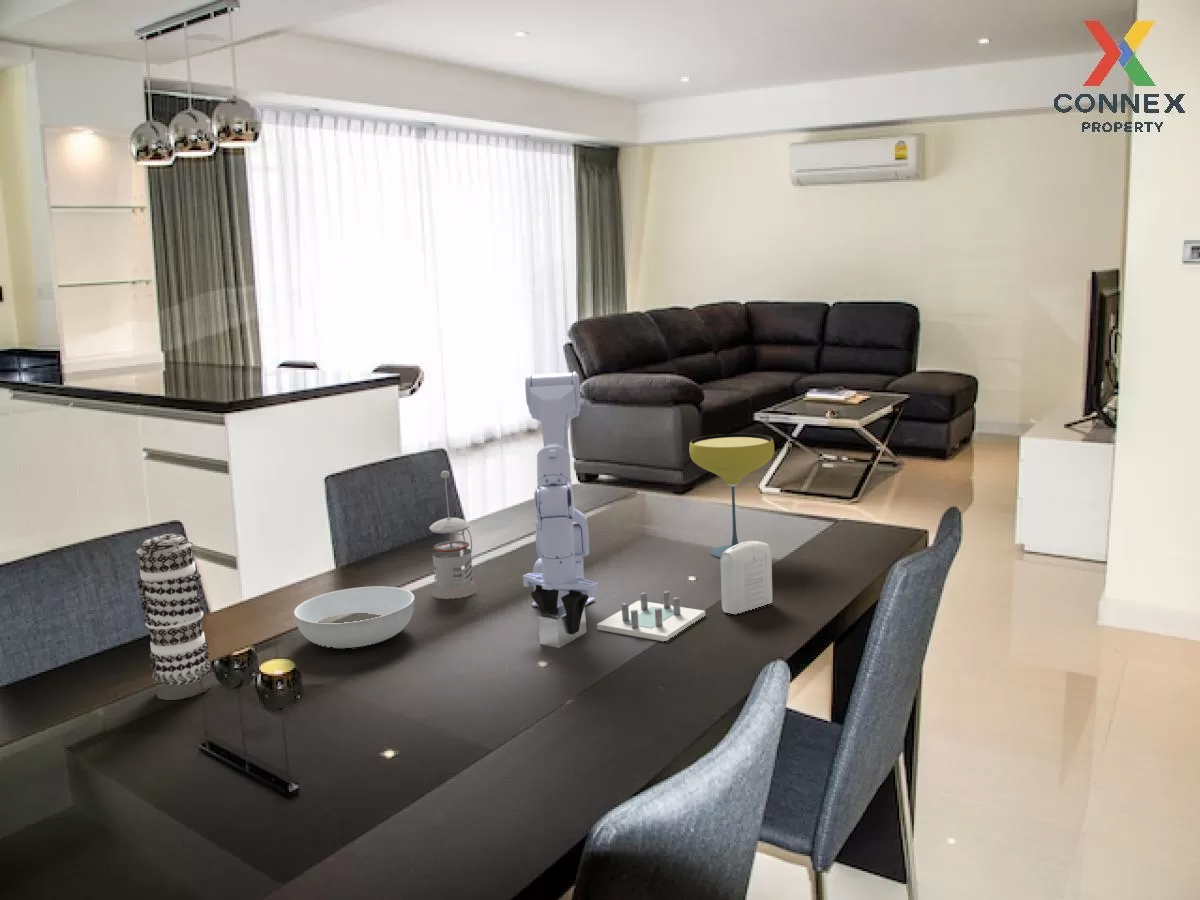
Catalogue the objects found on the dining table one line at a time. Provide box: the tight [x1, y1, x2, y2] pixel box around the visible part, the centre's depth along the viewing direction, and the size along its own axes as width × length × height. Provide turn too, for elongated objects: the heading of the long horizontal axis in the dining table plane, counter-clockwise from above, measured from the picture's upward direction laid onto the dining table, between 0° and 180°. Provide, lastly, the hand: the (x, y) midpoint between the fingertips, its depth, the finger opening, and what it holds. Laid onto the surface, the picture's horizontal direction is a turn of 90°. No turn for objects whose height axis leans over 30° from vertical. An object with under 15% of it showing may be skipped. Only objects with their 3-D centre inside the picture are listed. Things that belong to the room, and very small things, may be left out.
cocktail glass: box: [688, 433, 775, 559], centre depth 213 cm, size 18×18×25 cm
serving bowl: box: [293, 585, 416, 649], centre depth 174 cm, size 21×21×7 cm
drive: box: [537, 604, 587, 649], centre depth 169 cm, size 4×8×5 cm, turn 146°
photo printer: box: [719, 540, 773, 615], centre depth 178 cm, size 10×4×12 cm, turn 123°
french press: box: [429, 470, 475, 590], centre depth 198 cm, size 10×12×25 cm
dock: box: [596, 590, 706, 642], centre depth 174 cm, size 14×14×4 cm
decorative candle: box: [136, 533, 212, 686], centre depth 154 cm, size 9×9×25 cm
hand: (563, 630), depth 169 cm, fingers closed on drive, 4 cm apart
